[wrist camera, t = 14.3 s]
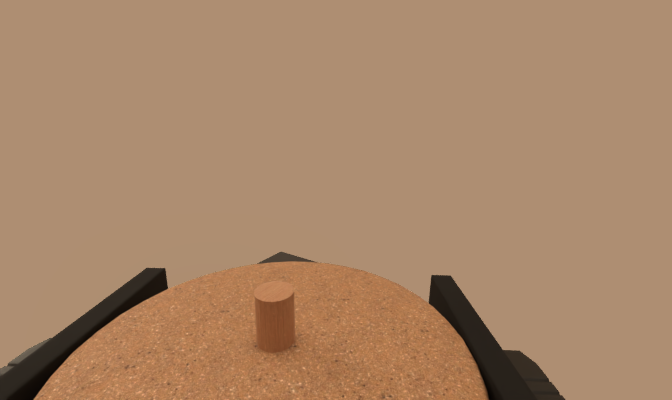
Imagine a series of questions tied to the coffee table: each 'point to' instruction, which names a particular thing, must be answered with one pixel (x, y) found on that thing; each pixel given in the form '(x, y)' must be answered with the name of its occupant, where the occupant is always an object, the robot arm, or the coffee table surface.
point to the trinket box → (274, 342)
